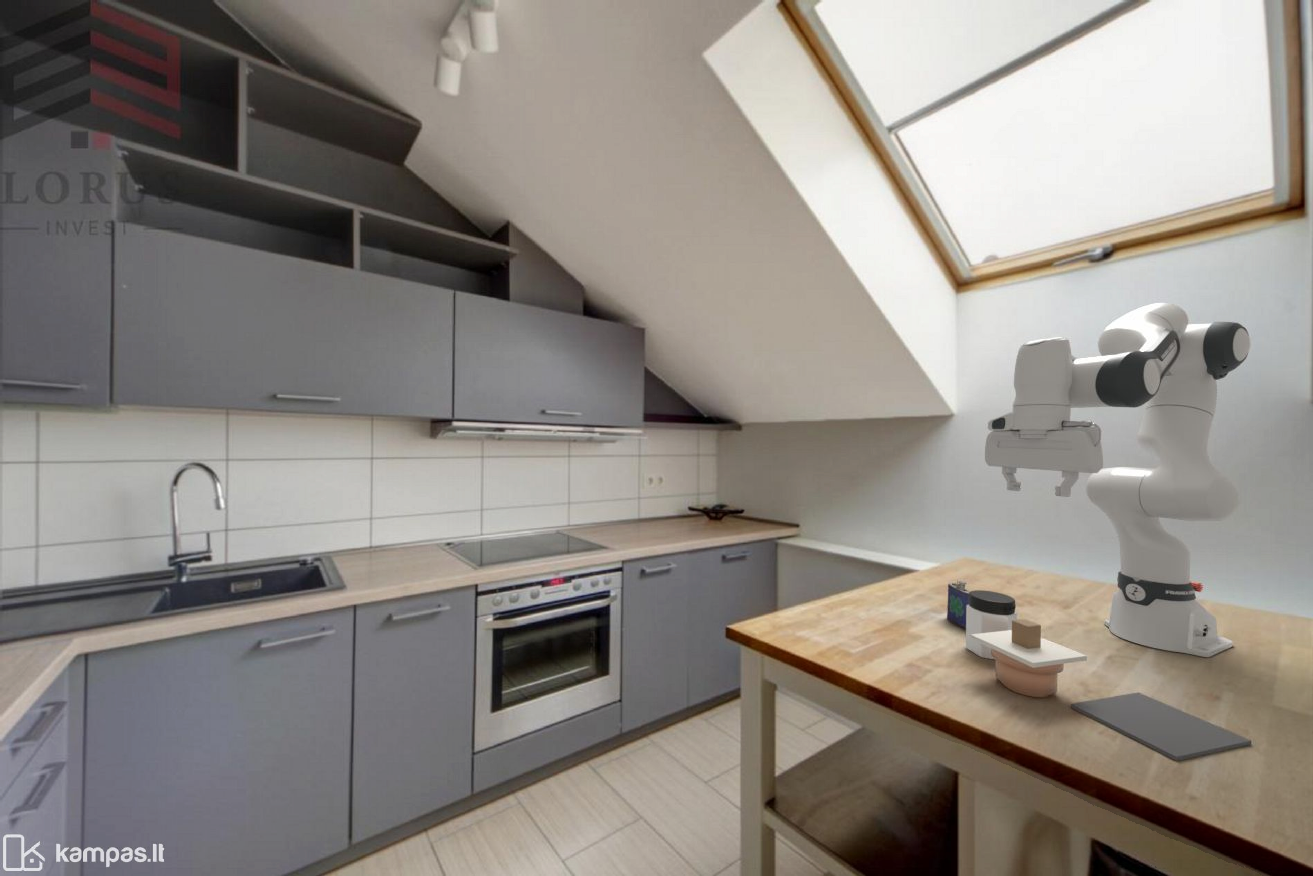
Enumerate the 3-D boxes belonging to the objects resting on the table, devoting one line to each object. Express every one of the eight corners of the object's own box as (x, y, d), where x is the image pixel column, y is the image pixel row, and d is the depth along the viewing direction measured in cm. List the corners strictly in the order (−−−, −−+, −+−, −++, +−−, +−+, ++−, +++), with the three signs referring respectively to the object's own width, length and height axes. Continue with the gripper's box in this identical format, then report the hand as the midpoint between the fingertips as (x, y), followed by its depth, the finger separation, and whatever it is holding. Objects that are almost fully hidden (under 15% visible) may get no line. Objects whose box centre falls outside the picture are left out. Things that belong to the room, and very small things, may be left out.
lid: (1019, 633, 96) (1020, 608, 96) (1086, 660, 85) (1087, 632, 85) (970, 638, 93) (971, 613, 93) (1033, 667, 82) (1033, 639, 82)
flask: (980, 632, 114) (980, 586, 114) (967, 632, 114) (968, 586, 114) (954, 617, 123) (954, 575, 123) (942, 618, 123) (943, 575, 123)
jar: (1003, 665, 98) (1004, 605, 98) (959, 650, 104) (960, 594, 104) (1022, 655, 103) (1023, 598, 102) (979, 641, 109) (980, 587, 109)
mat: (1138, 695, 87) (1138, 692, 87) (1251, 744, 73) (1251, 740, 73) (1070, 707, 83) (1070, 703, 83) (1176, 761, 69) (1176, 756, 69)
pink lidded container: (1019, 670, 96) (1020, 634, 96) (1078, 698, 85) (1079, 659, 85) (976, 676, 93) (976, 639, 93) (1031, 706, 83) (1032, 665, 83)
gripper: (1114, 421, 85) (1110, 500, 85) (1004, 423, 105) (1001, 488, 105) (1087, 419, 83) (1083, 500, 83) (980, 422, 103) (977, 487, 103)
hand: (1036, 493), depth 94 cm, fingers open, 8 cm apart
